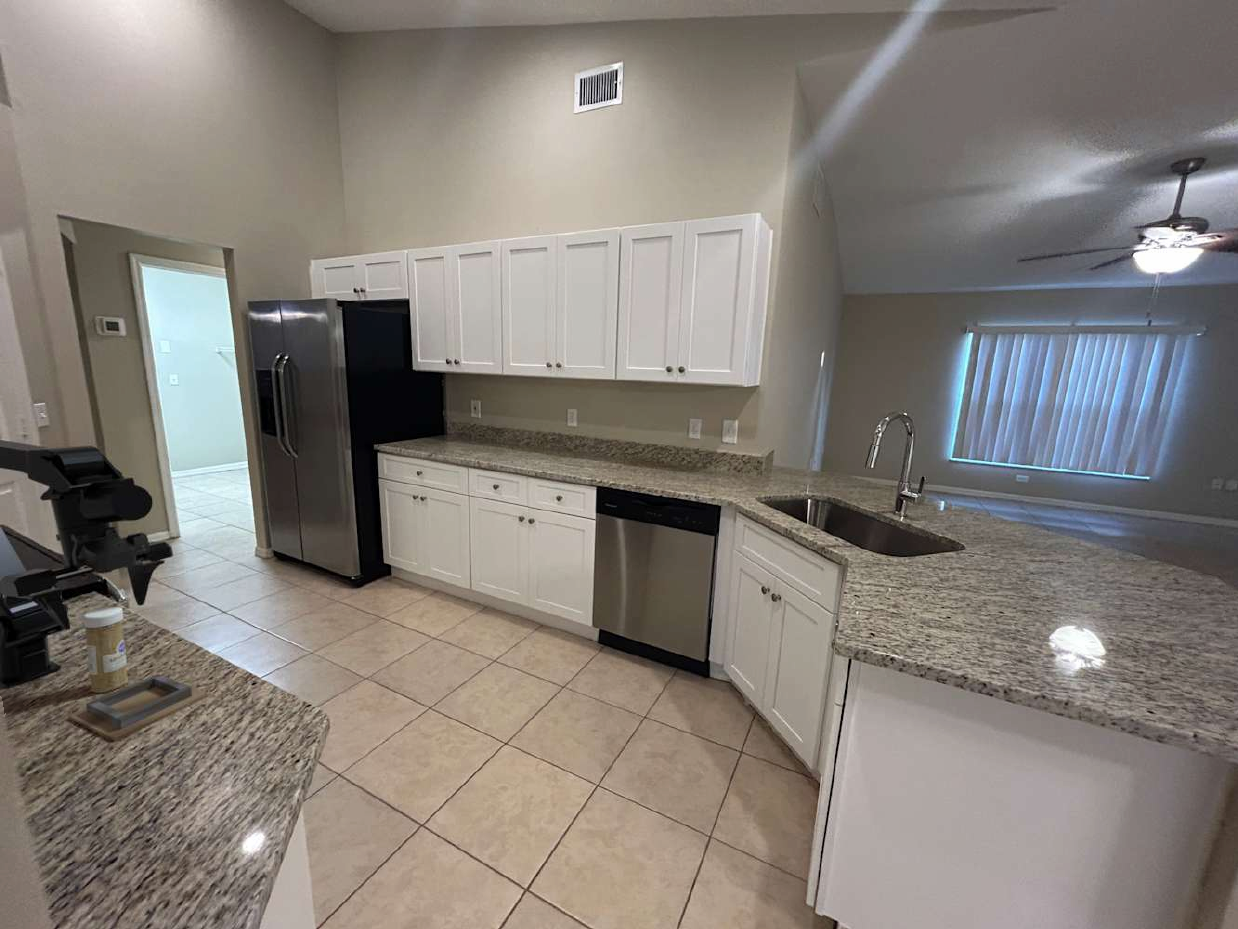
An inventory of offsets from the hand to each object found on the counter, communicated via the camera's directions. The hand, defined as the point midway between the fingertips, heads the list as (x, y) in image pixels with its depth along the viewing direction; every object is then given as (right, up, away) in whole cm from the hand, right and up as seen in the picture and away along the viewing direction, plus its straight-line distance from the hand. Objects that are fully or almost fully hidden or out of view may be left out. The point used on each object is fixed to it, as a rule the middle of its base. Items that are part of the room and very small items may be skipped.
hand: (105, 616), depth 81 cm
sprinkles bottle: (-2, -13, +2) cm, 13 cm away
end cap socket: (+8, -14, -2) cm, 16 cm away
